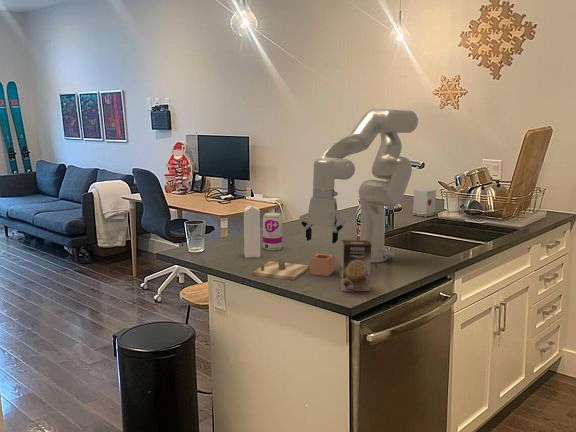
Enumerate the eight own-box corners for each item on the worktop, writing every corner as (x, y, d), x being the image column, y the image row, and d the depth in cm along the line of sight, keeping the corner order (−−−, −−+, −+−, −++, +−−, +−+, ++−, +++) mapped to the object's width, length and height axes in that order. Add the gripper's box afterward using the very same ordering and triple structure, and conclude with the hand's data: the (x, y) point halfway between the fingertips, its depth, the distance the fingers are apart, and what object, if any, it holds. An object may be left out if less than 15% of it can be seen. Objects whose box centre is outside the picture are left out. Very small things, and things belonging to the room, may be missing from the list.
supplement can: (279, 251, 241) (280, 216, 238) (260, 250, 242) (260, 215, 240) (284, 246, 249) (284, 212, 246) (265, 245, 250) (265, 211, 247)
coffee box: (342, 292, 189) (343, 244, 186) (339, 286, 195) (340, 239, 192) (370, 291, 189) (371, 244, 186) (366, 285, 195) (368, 239, 192)
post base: (309, 268, 215) (309, 255, 214) (294, 280, 201) (294, 266, 200) (270, 264, 221) (270, 251, 220) (252, 275, 207) (252, 261, 206)
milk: (258, 253, 237) (258, 200, 233) (260, 257, 231) (260, 203, 227) (243, 254, 236) (243, 201, 232) (245, 257, 230) (245, 203, 226)
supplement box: (425, 218, 315) (427, 190, 312) (412, 215, 321) (413, 189, 319) (435, 216, 321) (436, 189, 318) (421, 213, 327) (423, 187, 325)
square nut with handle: (328, 276, 206) (328, 259, 205) (310, 274, 209) (310, 257, 207) (338, 267, 217) (339, 251, 216) (321, 265, 220) (321, 250, 219)
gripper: (349, 194, 205) (347, 241, 208) (304, 191, 212) (302, 237, 214) (343, 197, 198) (341, 245, 201) (296, 193, 205) (295, 240, 208)
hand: (321, 241), depth 208 cm, fingers open, 9 cm apart
